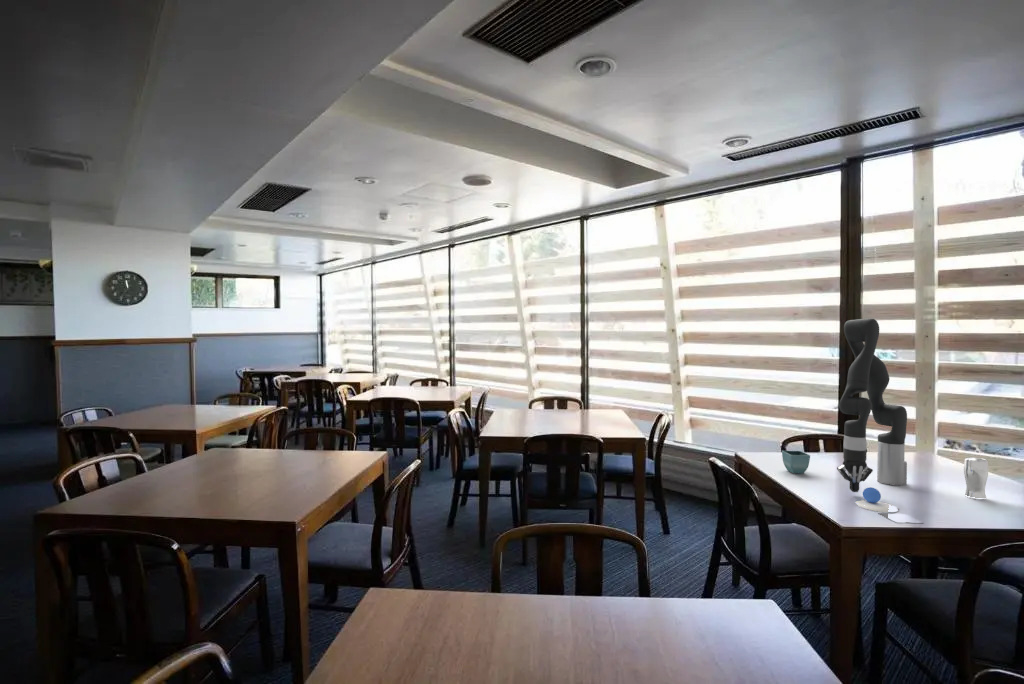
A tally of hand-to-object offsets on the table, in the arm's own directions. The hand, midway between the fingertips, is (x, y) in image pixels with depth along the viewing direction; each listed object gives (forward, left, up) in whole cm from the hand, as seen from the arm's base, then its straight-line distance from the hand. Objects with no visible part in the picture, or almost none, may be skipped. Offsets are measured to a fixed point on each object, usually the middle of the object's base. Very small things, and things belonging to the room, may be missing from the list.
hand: (854, 491), depth 199 cm
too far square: (0, +25, -2) cm, 25 cm away
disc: (0, +13, -2) cm, 13 cm away
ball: (-1, +8, +1) cm, 9 cm away
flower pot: (+6, -33, -2) cm, 34 cm away
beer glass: (-45, +1, -2) cm, 45 cm away
